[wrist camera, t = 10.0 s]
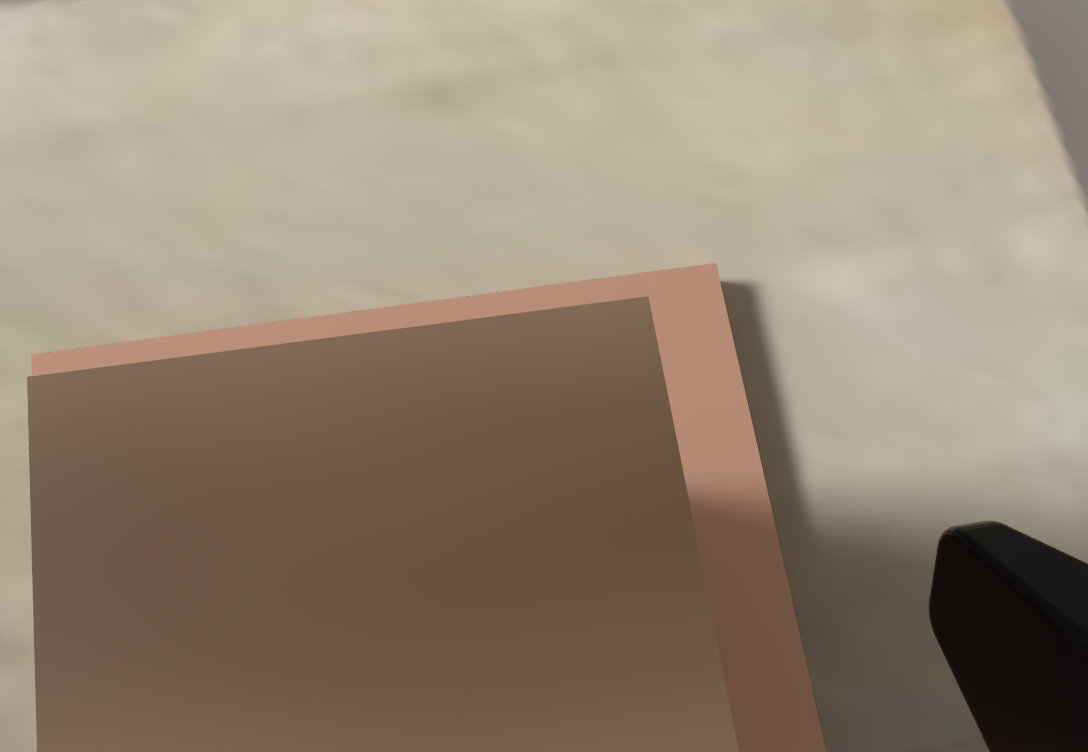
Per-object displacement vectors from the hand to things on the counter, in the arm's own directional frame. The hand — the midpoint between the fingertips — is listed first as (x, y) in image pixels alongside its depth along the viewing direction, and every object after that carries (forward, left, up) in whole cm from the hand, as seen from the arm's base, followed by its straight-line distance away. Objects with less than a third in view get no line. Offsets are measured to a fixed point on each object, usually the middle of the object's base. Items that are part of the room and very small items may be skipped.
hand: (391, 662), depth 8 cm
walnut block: (0, 0, -9) cm, 9 cm away
